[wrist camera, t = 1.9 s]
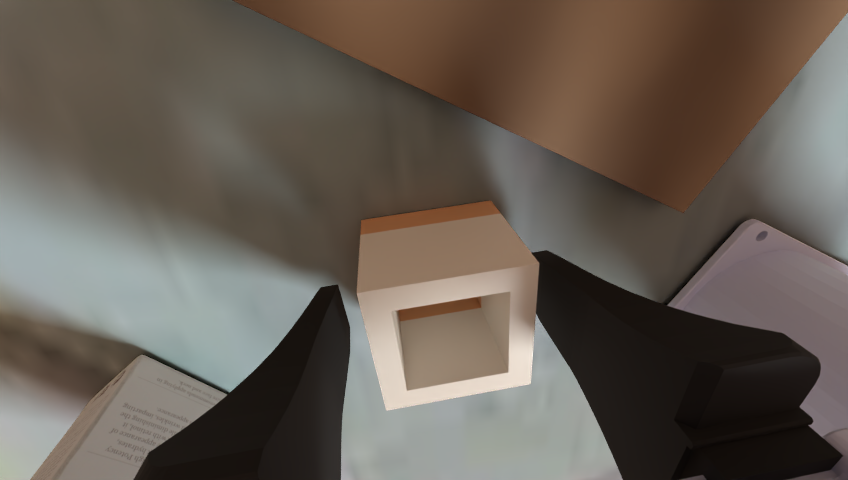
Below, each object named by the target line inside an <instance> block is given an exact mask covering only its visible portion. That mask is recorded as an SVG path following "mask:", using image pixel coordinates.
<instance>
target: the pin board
mask: <svg viewBox="0 0 848 480" xmlns="http://www.w3.org/2000/svg"><path fill="white" fill-rule="evenodd" d="M233 1H235V2H237V3H239V4H241V5H243V6H245V7H247V8H250V9H252V10H254V11H256V12H258V13H260V14H262V15H264V16H266V17H269V18H271V19H273V20H275V21H277V22H279V23H281V24H283V25H286V26H288V27H290V28H292V29H294V30H296V31H298V32H300V33H303V34H305V35H307V36H309V37H311V38H313V39H315V40H317V41H320V42H322V43H324V44H326V45H328V46H330V47H332V48H334V49H336V50H339V51H341V52H343V53H345V54H347V55H349V56H351V57H353V58H356V59H358V60H360V61H362V62H364V63H366V64H368V65H370V66H373V67H375V68H377V69H379V70H381V71H383V72H385V73H387V74H390V75H392V76H394V77H396V78H398V79H400V80H402V81H404V82H406V83H409V84H411V85H413V86H415V87H417V88H419V89H421V90H423V91H426V92H428V93H430V94H432V95H434V96H436V97H438V98H440V99H443V100H445V101H447V102H449V103H451V104H453V105H455V106H457V107H460V108H462V109H464V110H466V111H468V112H470V113H472V114H474V115H476V116H479V117H481V118H483V119H485V120H487V121H489V122H491V123H493V124H496V125H498V126H500V127H502V128H504V129H506V130H508V131H510V132H513V133H515V134H517V135H519V136H521V137H523V138H525V139H527V140H530V141H532V142H534V143H536V144H538V145H540V146H542V147H544V148H546V149H549V150H551V151H553V152H555V153H557V154H559V155H561V156H563V157H566V158H568V159H570V160H572V161H574V162H576V163H578V164H580V165H583V166H585V167H587V168H589V169H591V170H593V171H595V172H597V173H600V174H602V175H604V176H606V177H608V178H610V179H612V180H614V181H616V182H619V183H621V184H623V185H625V186H627V187H629V188H631V189H633V190H636V191H638V192H640V193H642V194H644V195H646V196H648V197H650V198H653V199H655V200H657V201H659V202H661V203H663V204H665V205H667V206H670V207H672V208H674V209H676V210H678V211H680V212H682V213H684V212H685V210H686V209H687V208H688V207H689V206H690V204H691V203H692V202H693V201H694V199H695V198H696V197H697V196H698V195H699V193H700V192H701V191H702V190H703V188H704V187H705V186H706V185H707V184H708V182H709V181H710V180H711V179H712V177H713V176H714V175H715V174H716V173H717V171H718V170H719V169H720V168H721V166H722V165H723V164H724V163H725V162H726V160H727V159H728V158H729V157H730V155H731V154H732V153H733V152H734V151H735V149H736V148H737V147H738V146H739V144H740V143H741V142H742V141H743V140H744V138H745V137H746V136H747V135H748V133H749V132H750V131H751V130H752V129H753V127H754V126H755V125H756V124H757V122H758V121H759V120H760V119H761V118H762V116H763V115H764V114H765V113H766V111H767V110H768V109H769V108H770V107H771V105H772V104H773V103H774V102H775V100H776V99H777V98H778V97H779V96H780V94H781V93H782V92H783V91H784V89H785V88H786V87H787V86H788V85H789V83H790V82H791V81H792V80H793V78H794V77H795V76H796V75H797V73H798V72H799V71H800V70H801V69H802V67H803V66H804V65H805V64H806V62H807V61H808V60H809V59H810V58H811V56H812V55H813V54H814V53H815V51H816V50H817V49H818V48H819V47H820V45H821V44H822V43H823V42H824V40H825V39H826V38H827V37H828V36H829V34H830V33H831V32H832V31H833V29H834V28H835V27H836V26H837V25H838V23H839V22H840V21H841V20H842V18H843V17H844V16H845V15H846V14H847V12H848V0H233Z"/></svg>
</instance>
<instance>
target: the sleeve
mask: <svg viewBox="0 0 848 480" xmlns="http://www.w3.org/2000/svg"><path fill="white" fill-rule="evenodd" d="M538 275H539V262H538V261H537V260H536V258H535V257H534V256H533V255H532V253H531V252H530V251H529V249H528V248H527V247H526V245H525V244H524V243H523V242H522V240H521V239H520V238H519V236H518V235H517V234H516V233H515V231H514V230H513V229H512V227H511V226H510V225H509V223H508V222H507V221H506V220H505V218H504V217H503V216H502V214H501V213H500V212H499V211H498V209H497V208H496V207H495V205H494V204H493V203H492V201H491V200H490V201H484V202H477V203H471V204H464V205H457V206H451V207H444V208H437V209H431V210H424V211H417V212H411V213H404V214H398V215H391V216H384V217H378V218H371V219H364V220H361V234H360V249H359V264H358V279H357V297H358V301H359V305H360V309H361V313H362V316H363V320H364V324H365V328H366V332H367V336H368V340H369V344H370V348H371V352H372V356H373V360H374V364H375V368H376V372H377V376H378V379H379V383H380V387H381V391H382V395H383V399H384V403H385V407H386V411H387V410H392V409H398V408H403V407H409V406H414V405H420V404H425V403H430V402H436V401H441V400H447V399H452V398H457V397H463V396H468V395H474V394H479V393H484V392H490V391H495V390H501V389H506V388H512V387H517V386H522V385H528V384H531V372H532V358H533V344H534V330H535V317H536V303H537V289H538Z"/></svg>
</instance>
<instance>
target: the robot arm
mask: <svg viewBox="0 0 848 480" xmlns="http://www.w3.org/2000/svg"><path fill="white" fill-rule="evenodd" d="M532 255H533V256H534V257H535V258H536V260H537V261H538V262H539V275H538V289H537V303H536V314H537V316H538V318H539V320H540V322H541V323H542V325H543V326H544V328H545V330H546V331H547V333H548V334H549V336H550V337H551V339H552V341H553V342H554V344H555V345H556V347H557V348H558V350H559V351H560V353H561V355H562V356H563V358H564V359H565V361H566V362H567V364H568V365H569V367H570V369H571V370H572V372H573V374H574V375H575V377H576V379H577V381H578V383H579V385H580V387H581V389H582V391H583V393H584V395H585V397H586V399H587V401H588V403H589V405H590V407H591V409H592V411H593V413H594V415H595V417H596V420H597V422H598V424H599V426H600V428H601V430H602V432H603V435H604V437H605V439H606V441H607V444H608V446H609V448H610V450H611V453H612V455H613V457H614V459H615V462H616V464H617V466H618V469H619V471H620V474H621V476H622V479H623V480H848V266H847V265H845V264H843V263H841V262H839V261H837V260H835V259H833V258H831V257H829V256H828V255H826V254H824V253H822V252H820V251H818V250H816V249H814V248H812V247H810V246H808V245H806V244H804V243H802V242H800V241H798V240H796V239H794V238H792V237H790V236H788V235H786V234H784V233H782V232H781V231H779V230H777V229H775V228H773V227H771V226H769V225H767V224H765V223H763V222H761V221H758V220H756V219H750V220H747V221H745V222H743V223H742V224H741V225H740V226H739V227H738V228H737V229H736V230H735V231H734V232H733V234H732V235H731V236H730V237H729V238H728V239H727V240H726V241H725V242H724V243H723V245H722V246H721V247H720V248H719V249H718V250H717V251H716V252H715V253H714V254H713V256H712V257H711V258H710V259H709V260H708V261H707V262H706V263H705V264H704V265H703V267H702V268H701V269H700V270H699V271H698V272H697V273H696V274H695V275H694V276H693V278H692V279H691V280H690V281H689V282H688V283H687V284H686V285H685V286H684V288H683V289H682V290H681V291H680V292H679V293H678V294H677V295H676V296H675V297H674V299H673V300H672V301H671V302H670V303H669V304H668V305H664V304H661V303H658V302H655V301H652V300H650V299H647V298H644V297H642V296H639V295H637V294H634V293H632V292H629V291H627V290H624V289H622V288H620V287H618V286H616V285H613V284H611V283H609V282H607V281H605V280H603V279H601V278H599V277H597V276H595V275H593V274H591V273H589V272H587V271H585V270H583V269H581V268H579V267H578V266H576V265H574V264H572V263H570V262H568V261H567V260H565V259H563V258H561V257H559V256H557V255H555V254H553V253H551V252H549V251H547V250H546V251H540V252H534V253H532ZM349 356H350V325H349V322H348V318H347V315H346V311H345V308H344V304H343V301H342V297H341V294H340V290H339V287H338V285H332V286H326V287H321V288H320V289H319V291H318V292H317V293H316V295H315V296H314V298H313V299H312V301H311V302H310V304H309V305H308V306H307V308H306V309H305V311H304V312H303V314H302V315H301V316H300V318H299V319H298V320H297V322H296V323H295V325H294V326H293V327H292V329H291V330H290V331H289V332H288V334H287V335H286V336H285V337H284V339H283V340H282V341H281V342H280V343H279V345H278V346H277V347H276V348H275V349H274V351H273V352H272V353H271V354H270V355H269V356H268V357H267V358H266V359H265V360H264V361H263V362H262V363H261V364H260V365H259V366H258V367H257V368H256V369H255V370H254V371H253V372H252V373H251V374H250V375H249V376H248V377H247V378H246V379H245V380H244V381H242V382H241V383H240V384H239V385H238V386H237V387H236V388H235V389H234V390H232V391H231V392H230V393H229V394H228V395H227V396H226V397H224V398H223V399H222V400H221V401H219V402H218V403H217V404H216V405H215V406H213V407H212V408H211V409H209V410H208V411H207V412H206V413H204V414H203V415H202V416H200V417H199V418H198V419H196V420H195V421H194V422H192V423H191V424H190V425H188V426H187V427H185V428H184V429H182V430H181V431H179V432H178V433H177V434H175V435H174V436H172V437H171V438H169V439H168V440H166V441H165V442H163V443H162V444H161V445H159V446H158V447H156V448H155V449H153V450H151V451H150V452H149V453H148V455H147V457H146V458H145V460H144V462H143V463H142V465H141V467H140V469H139V470H138V472H137V474H136V476H135V478H134V480H341V431H342V413H343V404H344V396H345V388H346V381H347V373H348V364H349Z"/></svg>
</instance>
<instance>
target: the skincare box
mask: <svg viewBox="0 0 848 480" xmlns="http://www.w3.org/2000/svg"><path fill="white" fill-rule="evenodd" d="M226 396H227V394H225V393H223V392H221V391H219V390H217V389H215V388H212V387H210V386H208V385H206V384H204V383H202V382H200V381H198V380H196V379H194V378H191V377H189V376H187V375H185V374H183V373H181V372H179V371H177V370H175V369H173V368H171V367H168V366H166V365H164V364H162V363H160V362H158V361H156V360H154V359H152V358H149V357H147V356H145V355H140V356H138V357H137V358H136V359H135V360H133V361H132V362H131V363H130V364H129V365H128V366H127V367H126V368H125V369H124V370H122V371H121V372H120V373H119V374H118V375H117V376H116V377H115V378H114V379H113V380H111V381H110V382H109V383H108V384H107V385H106V386H105V387H104V388H103V389H102V390H101V391H99V392H98V393H97V394H96V395H95V396H94V397H93V398H92V399H91V400H90V401H89V402H88V404H87V405H86V407H85V408H84V409H83V411H82V412H81V414H80V415H79V416H78V418H77V419H76V421H75V422H74V423H73V424H72V426H71V427H70V428H69V430H68V431H67V432H66V434H65V435H64V436H63V438H62V439H61V440H60V442H59V443H58V444H57V446H56V447H55V448H54V449H53V451H52V452H51V453H50V454H49V456H48V457H47V459H46V460H45V461H44V462H43V464H42V465H41V466H40V468H39V469H38V470H37V472H36V473H35V474H34V475H33V477H32V478H31V479H30V480H134V478H135V476H136V474H137V472H138V470H139V469H140V467H141V465H142V463H143V462H144V460H145V458H146V457H147V455H148V453H149V452H150V451H151V450H153V449H155V448H156V447H158V446H159V445H161V444H162V443H163V442H165V441H166V440H168V439H169V438H171V437H172V436H174V435H175V434H177V433H178V432H179V431H181V430H182V429H184V428H185V427H187V426H188V425H190V424H191V423H192V422H194V421H195V420H196V419H198V418H199V417H200V416H202V415H203V414H204V413H206V412H207V411H208V410H209V409H211V408H212V407H213V406H215V405H216V404H217V403H218V402H219V401H221V400H222V399H223V398H224V397H226Z"/></svg>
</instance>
